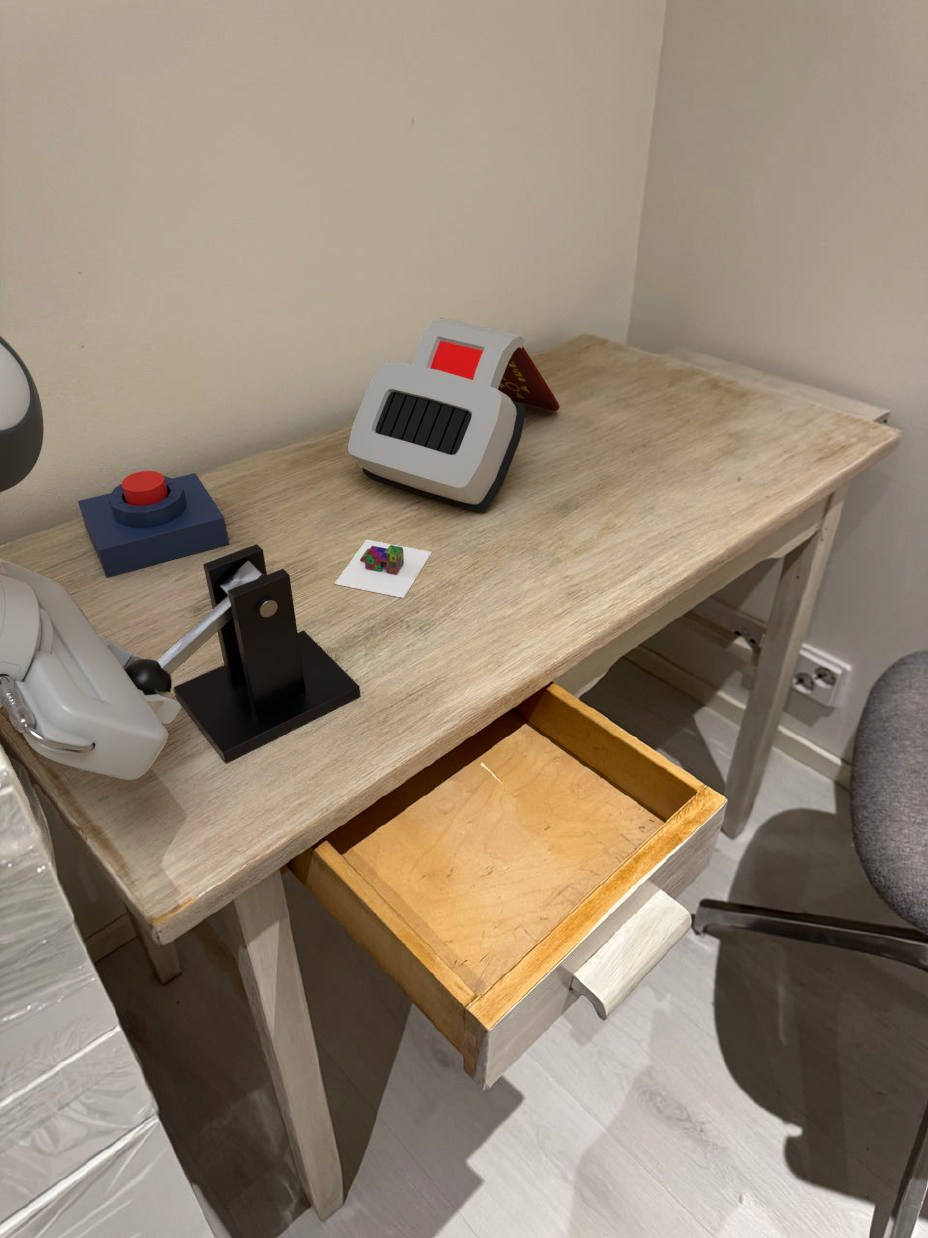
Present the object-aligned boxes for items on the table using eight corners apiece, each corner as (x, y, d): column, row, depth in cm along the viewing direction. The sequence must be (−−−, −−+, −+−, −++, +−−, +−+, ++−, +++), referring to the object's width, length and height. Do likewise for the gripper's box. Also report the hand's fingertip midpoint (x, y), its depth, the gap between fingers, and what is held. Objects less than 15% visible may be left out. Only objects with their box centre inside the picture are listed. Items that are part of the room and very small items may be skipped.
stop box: (106, 577, 85) (93, 533, 82) (85, 527, 92) (72, 485, 89) (229, 544, 90) (221, 501, 86) (200, 498, 96) (192, 457, 93)
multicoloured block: (407, 558, 88) (406, 538, 86) (396, 574, 86) (395, 554, 84) (367, 550, 89) (366, 530, 87) (356, 566, 87) (354, 546, 85)
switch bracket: (225, 764, 67) (195, 632, 59) (175, 697, 72) (141, 569, 64) (360, 696, 73) (349, 568, 65) (305, 640, 78) (288, 515, 70)
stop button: (130, 510, 86) (126, 495, 85) (121, 491, 88) (117, 476, 87) (172, 500, 87) (169, 484, 86) (162, 482, 90) (158, 466, 89)
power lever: (151, 726, 64) (119, 704, 61) (132, 699, 66) (100, 675, 63) (287, 601, 66) (262, 573, 63) (264, 578, 68) (239, 550, 66)
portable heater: (396, 287, 95) (540, 318, 89) (475, 384, 118) (594, 414, 112) (329, 456, 95) (469, 500, 88) (422, 520, 118) (538, 558, 111)
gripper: (55, 693, 48) (248, 738, 58) (-46, 525, 60) (128, 588, 71) (-5, 788, 48) (196, 815, 59) (-93, 602, 61) (87, 652, 72)
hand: (158, 690), depth 65 cm, fingers closed on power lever, 3 cm apart
